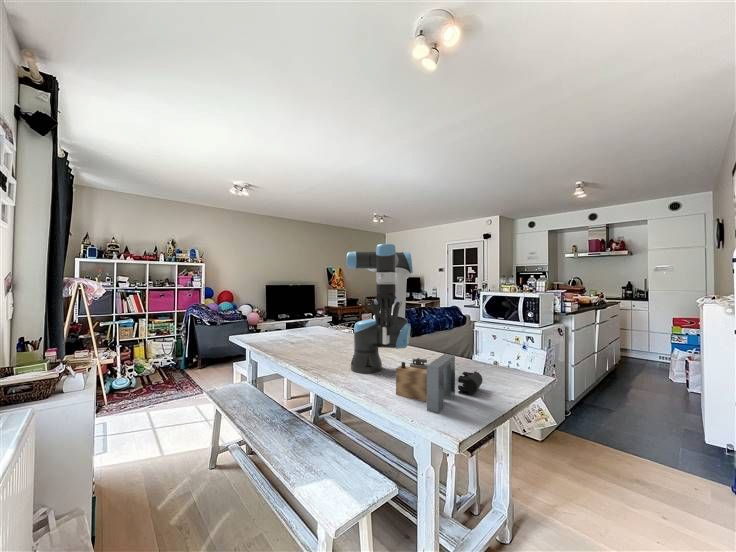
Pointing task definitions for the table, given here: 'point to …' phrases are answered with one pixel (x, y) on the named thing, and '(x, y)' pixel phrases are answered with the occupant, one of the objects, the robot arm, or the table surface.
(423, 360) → the lighter
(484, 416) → the table surface
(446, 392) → the housing
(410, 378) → the plug
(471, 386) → the end cap
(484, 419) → the table surface
